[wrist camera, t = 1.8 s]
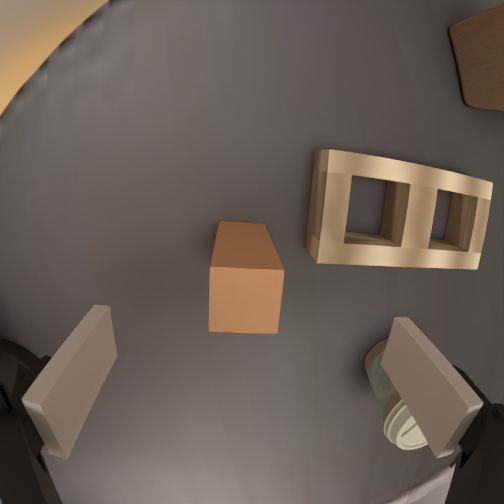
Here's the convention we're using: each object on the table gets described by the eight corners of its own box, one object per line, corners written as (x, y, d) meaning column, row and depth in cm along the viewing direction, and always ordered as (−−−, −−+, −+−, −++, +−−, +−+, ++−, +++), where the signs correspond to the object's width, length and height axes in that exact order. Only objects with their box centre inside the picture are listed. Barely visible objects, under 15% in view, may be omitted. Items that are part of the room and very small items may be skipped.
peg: (217, 263, 30) (208, 331, 18) (219, 221, 28) (209, 266, 17) (260, 265, 30) (277, 333, 18) (264, 223, 29) (284, 270, 17)
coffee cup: (412, 315, 33) (470, 374, 21) (418, 366, 35) (463, 426, 24) (346, 345, 33) (386, 420, 22) (359, 394, 36) (393, 464, 24)
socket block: (305, 247, 30) (316, 263, 25) (314, 150, 27) (329, 149, 23) (453, 256, 31) (477, 269, 27) (466, 177, 28) (492, 182, 24)
